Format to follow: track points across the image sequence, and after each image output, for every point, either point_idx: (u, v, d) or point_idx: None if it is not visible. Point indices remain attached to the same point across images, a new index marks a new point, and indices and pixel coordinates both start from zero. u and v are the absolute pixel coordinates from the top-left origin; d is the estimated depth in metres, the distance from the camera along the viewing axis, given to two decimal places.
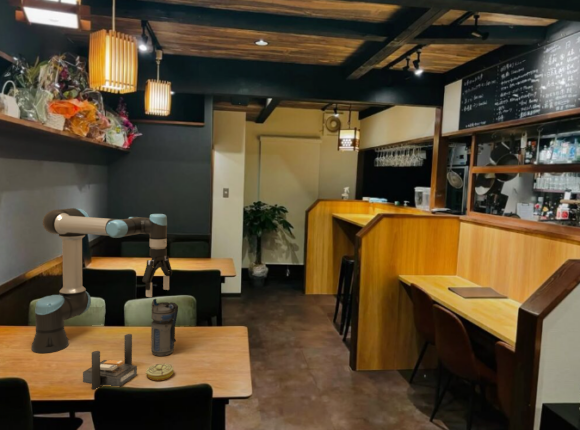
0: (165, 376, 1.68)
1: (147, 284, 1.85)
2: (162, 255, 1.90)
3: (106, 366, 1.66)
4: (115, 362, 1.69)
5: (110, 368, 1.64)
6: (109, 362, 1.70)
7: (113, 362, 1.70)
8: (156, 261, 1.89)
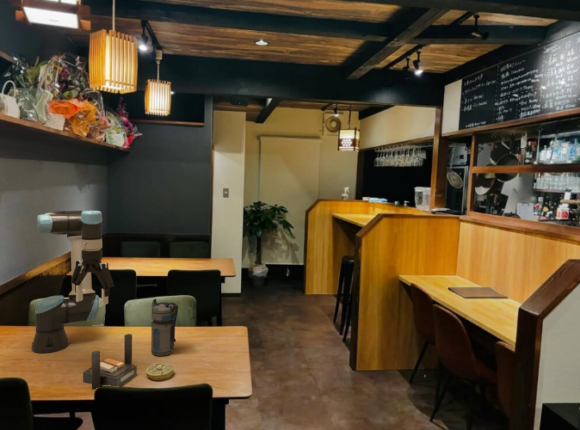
0: (165, 376, 1.68)
1: None
2: (82, 258, 1.65)
3: (106, 366, 1.66)
4: (115, 363, 1.69)
5: (110, 370, 1.64)
6: (109, 361, 1.70)
7: (113, 362, 1.70)
8: (83, 263, 1.67)
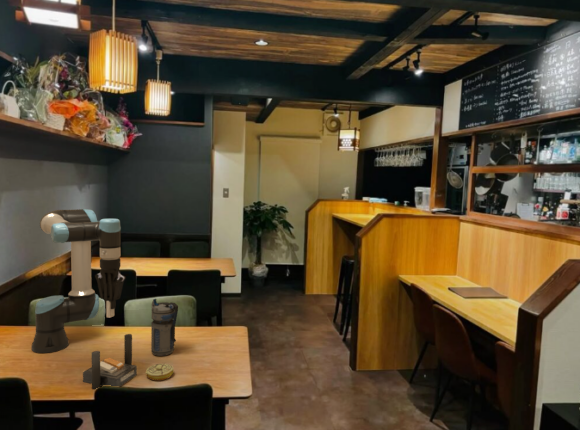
0: (165, 376, 1.68)
1: None
2: (100, 266, 1.62)
3: (106, 366, 1.66)
4: (115, 363, 1.69)
5: (110, 370, 1.64)
6: (109, 361, 1.70)
7: (113, 362, 1.70)
8: (102, 272, 1.65)
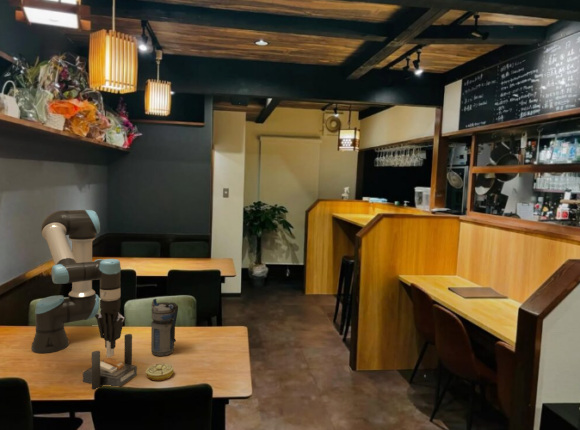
0: (165, 376, 1.68)
1: None
2: (100, 307, 1.63)
3: (106, 366, 1.66)
4: (115, 363, 1.69)
5: (110, 370, 1.64)
6: (109, 361, 1.70)
7: (113, 362, 1.70)
8: (102, 312, 1.66)
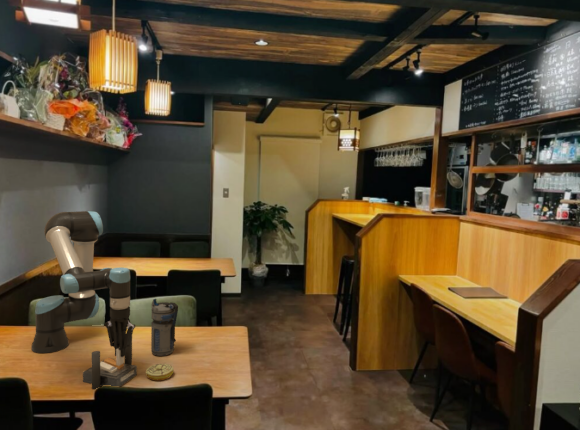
0: (165, 376, 1.68)
1: None
2: (110, 316, 1.65)
3: (106, 366, 1.66)
4: (115, 363, 1.69)
5: (110, 370, 1.64)
6: (109, 361, 1.70)
7: (113, 362, 1.70)
8: (112, 320, 1.68)
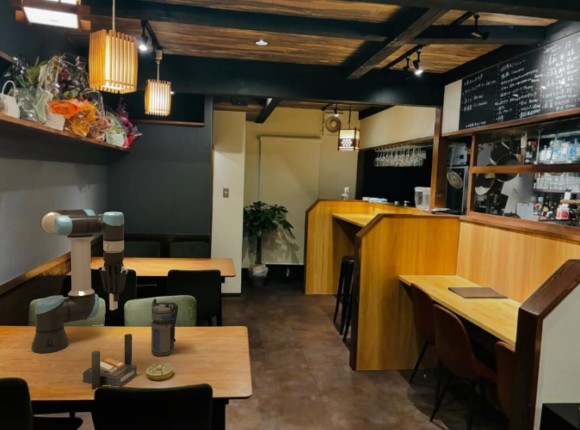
0: (165, 376, 1.68)
1: None
2: (104, 259, 1.63)
3: (106, 366, 1.66)
4: (115, 363, 1.69)
5: (110, 370, 1.64)
6: (109, 361, 1.70)
7: (113, 362, 1.70)
8: (105, 265, 1.66)
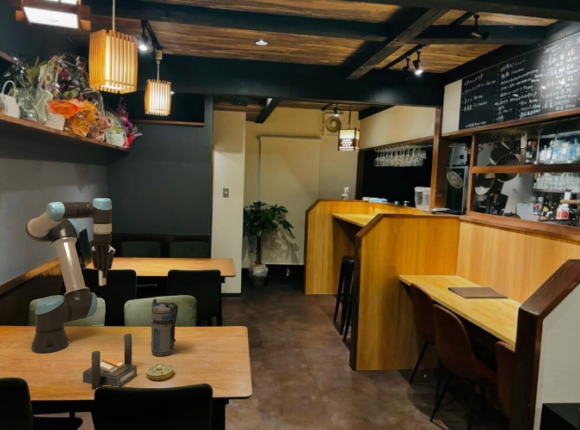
0: (165, 376, 1.68)
1: None
2: (94, 240, 1.84)
3: (106, 366, 1.66)
4: (115, 363, 1.69)
5: (110, 370, 1.64)
6: (109, 361, 1.70)
7: (113, 362, 1.70)
8: (95, 245, 1.87)
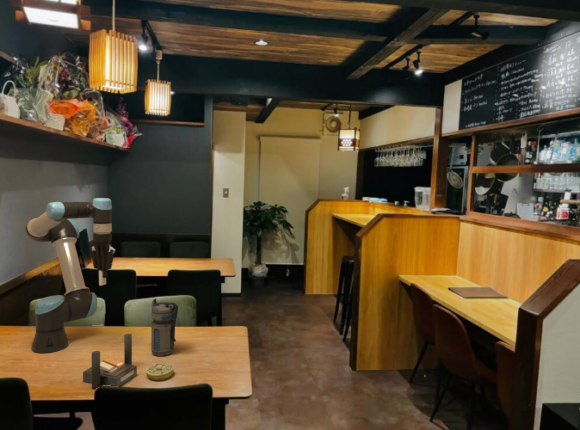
0: (165, 376, 1.68)
1: None
2: (94, 240, 1.84)
3: (106, 366, 1.66)
4: (115, 363, 1.69)
5: (110, 370, 1.64)
6: (109, 361, 1.70)
7: (113, 362, 1.70)
8: (95, 245, 1.87)
